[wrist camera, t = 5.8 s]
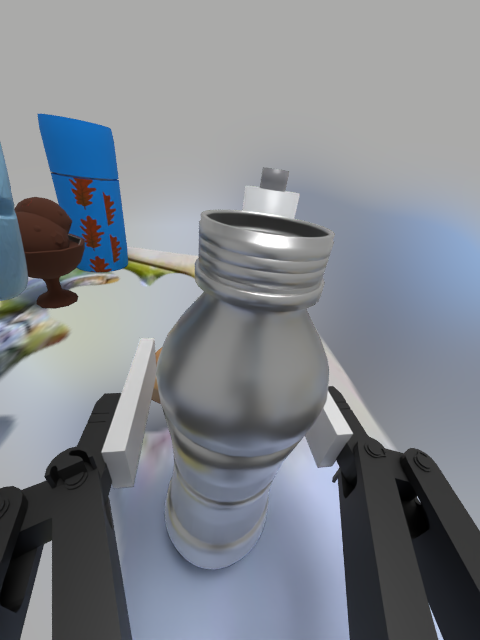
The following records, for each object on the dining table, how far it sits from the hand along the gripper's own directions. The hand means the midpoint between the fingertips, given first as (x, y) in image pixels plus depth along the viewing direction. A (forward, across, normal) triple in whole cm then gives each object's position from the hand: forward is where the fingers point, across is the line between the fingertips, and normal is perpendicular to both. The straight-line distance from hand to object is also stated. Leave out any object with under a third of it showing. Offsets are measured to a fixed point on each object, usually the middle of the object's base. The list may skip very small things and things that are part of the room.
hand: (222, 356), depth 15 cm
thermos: (+44, -23, -11) cm, 51 cm away
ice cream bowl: (+26, -24, -11) cm, 37 cm away
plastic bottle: (-5, 0, -11) cm, 12 cm away
